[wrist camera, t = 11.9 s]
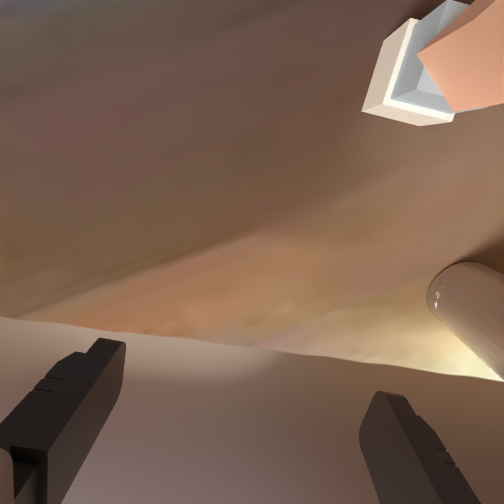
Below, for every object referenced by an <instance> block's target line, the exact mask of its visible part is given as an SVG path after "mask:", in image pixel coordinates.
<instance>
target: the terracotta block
mask: <svg viewBox="0 0 504 504" xmlns="http://www.w3.org/2000/svg"><path fill="white" fill-rule="evenodd" d="M417 56H418V57H419V59H420V61H421V62H422V64H423V65H424V67H425V68H426V70H427V71H428V73H429V74H430V76H431V78H432V79H433V81H434V82H435V84H436V85H437V87H438V88H439V90H440V91H441V93H442V95H443V96H444V98H445V99H446V101H447V102H448V104H449V105H450V107H451V109H452V110H453V112H458V111H464V110H469V109H475V108H480V107H486V106H491V105H497V104H502V103H504V0H475V1H474V2H473V3H472V4H471V5H470V6H468V7H467V8H466V9H465V10H464V11H463V12H462V13H461V14H460V15H459V16H457V17H456V18H455V19H454V20H453V21H452V22H451V23H450V24H449V25H448V26H446V27H445V28H444V29H443V30H442V31H441V32H440V33H439V34H438V35H437V36H435V37H434V38H433V39H432V40H431V41H430V42H429V43H428V44H427V45H425V46H424V47H423V48H422V49H421V50H420V51H419V52H418V53H417Z"/></svg>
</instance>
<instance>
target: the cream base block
mask: <svg viewBox="0 0 504 504" xmlns="http://www.w3.org/2000/svg"><path fill="white" fill-rule="evenodd" d="M419 21H420V20H417V19H413V18H410V19H409V20H408V21H406V22H405V23H404V24H403V25H402V26H400V27H399V28H398V29H397V30H396V31H395V32H393V33H392V34H391V35H390V36H389V37H387V38H386V39H385V40H384V41H383V44H382V48H381V51H380V54H379V57H378V60H377V64H376V67H375V70H374V73H373V76H372V80H371V83H370V86H369V89H368V92H367V96H366V99H365V102H364V105H363V108H362V112H366V113H370V114H374V115H378V116H382V117H386V118H390V119H394V120H398V121H402V122H406V123H410V124H413V125H417V126H425V125H432V124H439V123H446V122H452V120H453V117H454V115H455V113H454V114H447V113H443V112H439V111H435V110H431V109H427V108H423V107H419V106H415V105H411V104H407V103H403V102H399V101H395V100H391V99H390V97H391V94H392V91H393V88H394V85H395V82H396V79H397V76H398V72H399V69H400V66H401V63H402V60H403V57H404V54H405V51H406V48H407V45H408V42H409V39H410V36H411V33H412V30H413V27H414V25H415V24H417V23H418V22H419Z"/></svg>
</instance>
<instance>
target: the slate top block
mask: <svg viewBox="0 0 504 504" xmlns="http://www.w3.org/2000/svg"><path fill="white" fill-rule="evenodd" d="M468 6H470V5H468V4H464V3H460V2H457V1H453V0H446V1H445V2H444V3H442V4H441V5H440V6H438V7H437V8H436V9H435V10H433V11H432V12H431V13H429V14H428V15H427V16H426V17H424V18H423V19H422V20H420V21H419V22H418V23H417V24H415V25H414V27H413V30H412V33H411V36H410V39H409V42H408V45H407V48H406V51H405V54H404V57H403V60H402V63H401V66H400V69H399V72H398V76H397V79H396V82H395V85H394V88H393V91H392V94H391V97H390V99H391V100H395V101H399V102H403V103H407V104H411V105H415V106H419V107H423V108H427V109H431V110H435V111H439V112H443V113H447V114H454V113H459V112H465V111H470V110H476V109H482V108H487V107H488V106H486V107H480V108H475V109H469V110H464V111H458V112H453V110H452V109H451V107H450V105H449V104H448V102H447V101H446V99H445V98H444V96H443V95H442V93H441V91H440V90H439V88H438V87H437V85H436V84H435V82H434V81H433V79H432V78H431V76H430V74H429V73H428V71H427V70H426V68H425V67H424V65H423V64H422V62H421V61H420V59H419V57H418V56H417V53H418V52H419V51H420V50H421V49H422V48H423V47H424V46H425V45H427V44H428V43H429V42H430V41H431V40H432V39H433V38H434V37H435V36H437V35H438V34H439V33H440V32H441V31H442V30H443V29H444V28H445V27H446V26H448V25H449V24H450V23H451V22H452V21H453V20H454V19H455V18H456V17H457V16H459V15H460V14H461V13H462V12H463V11H464V10H465V9H466V8H467V7H468Z"/></svg>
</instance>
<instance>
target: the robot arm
mask: <svg viewBox="0 0 504 504" xmlns="http://www.w3.org/2000/svg"><path fill="white" fill-rule="evenodd" d="M427 301H428V306H429V309H430V311H431V312H432V314H433V315H434V316H435V317H436V318H437V319H438V320H439V321H440V322H442V323H443V324H444V325H445V326H446V327H447V328H448V329H449V330H450V331H451V332H452V333H453V334H454V335H455V336H456V337H458V338H459V339H460V340H461V341H462V342H463V343H464V344H465V345H466V346H467V347H468V348H469V349H471V350H472V351H473V352H474V353H475V354H476V355H477V356H478V357H479V358H480V359H481V360H482V361H483V362H485V363H486V364H487V365H488V366H489V367H490V368H491V369H492V370H493V371H494V372H495V373H496V374H498V375H499V376H500V377H501V378H502V379H503V380H504V275H503V274H501V273H499V272H497V271H495V270H493V269H491V268H489V267H487V266H485V265H483V264H481V263H477V262H462V263H458V264H455V265H452V266H450V267H448V268H447V269H445V270H444V271H442V272H441V273H440V274H439V275H438V276H437V277H436V278H435V279H434V281H433V282H432V284H431V286H430V288H429V291H428V297H427ZM125 353H126V343H125V342H121V341H116V340H111V339H105V338H99V339H98V340H97V341H96V342H95V343H94V344H93V345H92V347H91V348H90V349H89V350H88V351H87V352H86V353H81V352H74V353H72V354H71V355H69V356H67V357H65V358H64V359H62V360H60V361H58V362H57V363H56V364H55V365H54V366H53V367H52V368H51V370H50V371H49V372H48V373H47V374H46V375H45V376H44V379H41V380H40V381H39V382H38V384H37V385H36V386H35V387H34V388H33V390H32V392H31V391H30V392H29V393H28V394H27V395H26V397H25V398H24V399H23V400H22V401H21V402H20V403H19V404H18V405H17V406H16V407H15V408H14V410H13V411H12V412H11V413H10V414H9V415H8V416H7V417H6V418H5V419H4V420H3V421H2V422H1V424H0V504H61V502H62V501H63V499H64V497H65V495H66V493H67V491H68V490H69V488H70V486H71V484H72V482H73V480H74V479H75V477H76V475H77V473H78V471H79V469H80V468H81V466H82V464H83V462H84V460H85V459H86V457H87V455H88V453H89V451H90V449H91V448H92V446H93V444H94V442H95V440H96V438H97V437H98V435H99V433H100V431H101V429H102V427H103V426H104V424H105V422H106V420H107V418H108V416H109V415H110V413H111V410H112V409H113V407H114V405H115V404H116V401H117V399H118V397H119V394H120V390H121V387H122V381H123V372H124V362H125ZM359 442H360V447H361V451H362V453H363V456H364V459H365V462H366V465H367V468H368V470H369V473H370V476H371V479H372V482H373V484H374V487H375V490H376V493H377V496H378V499H379V501H380V504H481V503H480V501H479V500H478V498H477V497H476V495H475V494H474V492H473V490H472V489H471V487H470V486H469V484H468V483H467V481H466V479H465V478H464V476H463V475H462V473H461V472H460V470H459V468H458V467H456V466H455V462H454V461H453V459H452V457H451V456H450V454H449V453H448V452H446V448H445V447H444V445H443V443H442V442H441V440H440V439H439V437H438V436H437V434H436V432H435V431H434V430H433V429H432V428H431V427H430V426H429V425H428V424H427V423H426V422H425V421H424V420H423V419H422V418H421V417H420V416H417V415H416V414H415V412H414V411H413V409H412V407H411V406H410V404H409V403H408V401H407V399H406V398H405V397H404V396H403V395H398V394H393V393H388V392H383V391H377V392H376V393H375V395H374V396H373V398H372V401H371V403H370V405H369V408H368V410H367V412H366V415H365V417H364V419H363V421H362V424H361V426H360V431H359Z"/></svg>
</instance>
